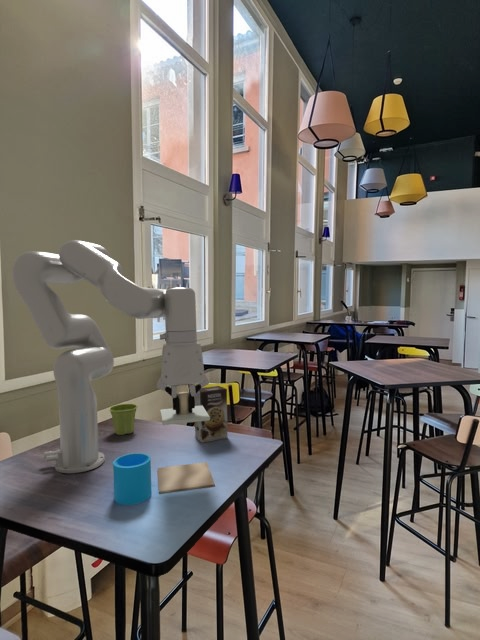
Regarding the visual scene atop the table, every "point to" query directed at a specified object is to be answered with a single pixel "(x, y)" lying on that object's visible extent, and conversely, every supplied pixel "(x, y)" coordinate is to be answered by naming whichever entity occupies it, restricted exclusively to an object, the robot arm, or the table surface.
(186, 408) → the lid
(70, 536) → the table surface
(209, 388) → the coffee box
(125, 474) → the mug
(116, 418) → the plant pot
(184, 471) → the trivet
